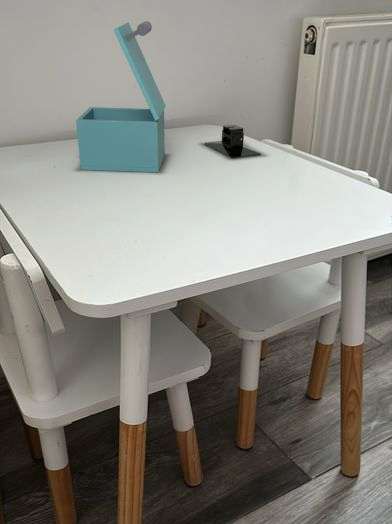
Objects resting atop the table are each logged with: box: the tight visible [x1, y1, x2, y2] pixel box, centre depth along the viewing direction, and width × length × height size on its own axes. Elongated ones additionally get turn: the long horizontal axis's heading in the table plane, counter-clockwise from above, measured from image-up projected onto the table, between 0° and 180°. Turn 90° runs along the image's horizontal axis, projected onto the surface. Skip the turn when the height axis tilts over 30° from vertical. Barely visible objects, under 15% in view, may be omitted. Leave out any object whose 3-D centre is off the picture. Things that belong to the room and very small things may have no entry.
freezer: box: [75, 106, 166, 173], centre depth 106 cm, size 15×12×9 cm
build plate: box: [204, 124, 262, 160], centre depth 117 cm, size 12×7×5 cm, turn 26°
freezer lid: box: [113, 20, 166, 121], centre depth 99 cm, size 15×12×5 cm
